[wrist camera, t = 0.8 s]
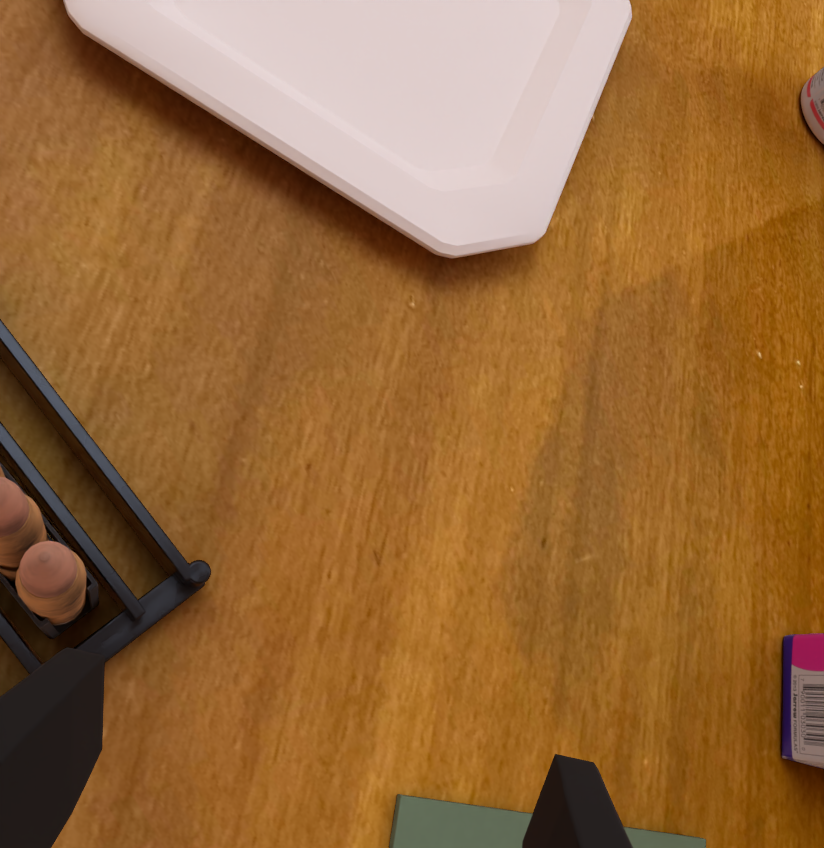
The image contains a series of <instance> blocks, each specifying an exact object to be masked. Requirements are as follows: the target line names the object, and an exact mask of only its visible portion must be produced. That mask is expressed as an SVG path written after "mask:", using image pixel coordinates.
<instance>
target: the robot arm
mask: <svg viewBox="0 0 824 848" xmlns="http://www.w3.org/2000/svg"><path fill="white" fill-rule="evenodd" d="M104 665H105V655H101V654H96V653H91V652H87V651H82V650H78V649H73V648H69V647H67V648H65V649H63V650H61V651H60V652H58V653H57V654H56V655H54V656H53V657H52V658H51V659H49V660H48V661H47V662H45V663H44V664H43V665H41V666H40V667H39V668H38V669H36V670H35V671H34V672H32V673H31V674H30V675H28V676H27V677H26V678H25V679H23V680H22V681H21V682H19V683H18V684H17V685H15V686H14V687H13V688H11V689H10V690H9V691H8V692H6V693H5V694H4V695H2V696H1V697H0V848H51V847H52V845H53V844H54V842H55V840H56V839H57V837H58V835H59V834H60V832H61V830H62V829H63V827H64V825H65V824H66V822H67V820H68V819H69V817H70V815H71V814H72V812H73V810H74V808H75V805H76V803H77V801H78V799H79V797H80V795H81V793H82V791H83V789H84V787H85V785H86V783H87V781H88V778H89V776H90V774H91V772H92V770H93V768H94V765H95V763H96V761H97V759H98V757H99V755H100V752H101V750H102V735H103V700H104ZM522 848H633V847H632V844H631V842H630V840H629V838H628V836H627V834H626V832H625V829H624V827H623V825H622V823H621V821H620V818H619V816H618V814H617V812H616V810H615V807H614V805H613V803H612V800H611V798H610V796H609V794H608V791H607V789H606V787H605V784H604V782H603V780H602V777H601V775H600V773H599V770H598V768H597V767H596V765H595V764H594V762H589V761H585V760H580V759H575V758H571V757H566V756H562V755H557V754H555V756H554V759H553V761H552V764H551V767H550V769H549V772H548V775H547V777H546V780H545V783H544V785H543V788H542V791H541V793H540V796H539V799H538V801H537V804H536V807H535V809H534V812H533V815H532V817H531V820H530V823H529V825H528V828H527V831H526V833H525V836H524V839H523V841H522Z"/></svg>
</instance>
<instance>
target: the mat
mask: <svg viewBox="0 0 824 848" xmlns="http://www.w3.org/2000/svg"><path fill="white" fill-rule="evenodd" d="M532 815H533V814H532V813H525V812H518V811H511V810H504V809H498V808H491V807H484V806H477V805H470V804H463V803H456V802H449V801H442V800H435V799H428V798H421V797H414V796H407V795H400V794H398V795H397V800H396V806H395V813H394V819H393V826H392V832H391V838H390V845H389V848H522V841H523V839H524V836H525V833H526V831H527V828H528V825H529V823H530V820H531V817H532ZM624 829H625V832H626V834H627V836H628V838H629V840H630V842H631V844H632V847H633V848H706V840H705V839H703V838H699V837H692V836H685V835H678V834H671V833H664V832H657V831H651V830H644V829H637V828H630V827H624Z"/></svg>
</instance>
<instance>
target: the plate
mask: <svg viewBox="0 0 824 848" xmlns="http://www.w3.org/2000/svg"><path fill="white" fill-rule="evenodd" d="M63 2H64V5H65V8H66V11H67V14H68V16H69V17H70V19H71V20H72V21H73V22H74V23H75V25H76V26H77V27H78V28H79V29H80V30H81V32H82V33H83V34H84V35H86V36H88V37H89V38H91V39H92V40H94V41H96V42H97V43H99V44H100V45H102V46H104V47H105V48H107V49H108V50H110V51H112V52H113V53H115V54H116V55H118V56H119V57H121V58H123V59H124V60H126V61H127V62H129V63H131V64H132V65H134V66H135V67H137V68H139V69H140V70H142V71H143V72H145V73H147V74H148V75H150V76H151V77H153V78H155V79H156V80H158V81H159V82H161V83H163V84H164V85H166V86H167V87H169V88H171V89H172V90H174V91H175V92H177V93H179V94H180V95H182V96H183V97H185V98H186V99H188V100H190V101H191V102H193V103H194V104H196V105H198V106H199V107H201V108H202V109H204V110H206V111H207V112H209V113H210V114H212V115H214V116H215V117H217V118H218V119H220V120H222V121H223V122H225V123H226V124H228V125H230V126H231V127H233V128H234V129H236V130H238V131H239V132H241V133H242V134H244V135H246V136H247V137H249V138H250V139H252V140H253V141H255V142H257V143H258V144H260V145H261V146H263V147H265V148H266V149H268V150H269V151H271V152H273V153H274V154H276V155H277V156H279V157H281V158H282V159H284V160H285V161H287V162H289V163H290V164H292V165H293V166H295V167H297V168H298V169H300V170H301V171H303V172H304V173H306V174H308V175H309V176H311V177H312V178H314V179H316V180H317V181H319V182H320V183H322V184H324V185H325V186H327V187H328V188H330V189H332V190H333V191H335V192H336V193H338V194H339V195H341V196H343V197H344V198H346V199H347V200H349V201H351V202H352V203H354V204H355V205H357V206H359V207H360V208H362V209H363V210H365V211H367V212H368V213H370V214H371V215H373V216H375V217H376V218H378V219H379V220H381V221H382V222H384V223H386V224H387V225H389V226H390V227H392V228H394V229H395V230H397V231H398V232H400V233H402V234H403V235H405V236H406V237H408V238H410V239H411V240H413V241H414V242H416V243H418V244H419V245H421V246H422V247H424V248H425V249H427V250H429V251H430V252H432V253H433V254H435V255H439V256H443V257H447V258H452V259H453V258H458V257H464V256H469V255H475V254H480V253H485V252H491V251H496V250H502V249H507V248H513V247H518V246H524V245H529V244H534V243H535V242H536V241H537V240H539V239H540V238H541V237H542V236H543V235H544V234H545V232H546V230H547V227H548V225H549V222H550V220H551V217H552V215H553V212H554V210H555V207H556V205H557V202H558V200H559V197H560V195H561V192H562V190H563V187H564V185H565V183H566V180H567V178H568V175H569V173H570V170H571V168H572V165H573V163H574V160H575V158H576V155H577V153H578V150H579V148H580V145H581V143H582V140H583V138H584V135H585V133H586V130H587V128H588V125H589V123H590V120H591V118H592V115H593V113H594V110H595V108H596V105H597V103H598V101H599V98H600V96H601V93H602V91H603V88H604V86H605V83H606V81H607V78H608V76H609V73H610V71H611V68H612V66H613V63H614V61H615V58H616V56H617V53H618V51H619V48H620V46H621V43H622V41H623V38H624V36H625V33H626V31H627V28H628V26H629V24H630V21H631V19H632V11H631V4H630V1H629V0H63Z"/></svg>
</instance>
